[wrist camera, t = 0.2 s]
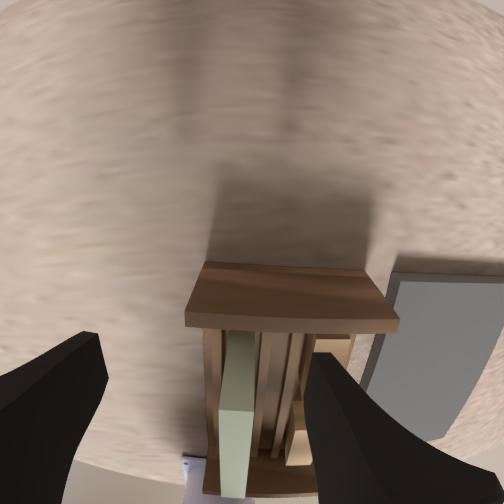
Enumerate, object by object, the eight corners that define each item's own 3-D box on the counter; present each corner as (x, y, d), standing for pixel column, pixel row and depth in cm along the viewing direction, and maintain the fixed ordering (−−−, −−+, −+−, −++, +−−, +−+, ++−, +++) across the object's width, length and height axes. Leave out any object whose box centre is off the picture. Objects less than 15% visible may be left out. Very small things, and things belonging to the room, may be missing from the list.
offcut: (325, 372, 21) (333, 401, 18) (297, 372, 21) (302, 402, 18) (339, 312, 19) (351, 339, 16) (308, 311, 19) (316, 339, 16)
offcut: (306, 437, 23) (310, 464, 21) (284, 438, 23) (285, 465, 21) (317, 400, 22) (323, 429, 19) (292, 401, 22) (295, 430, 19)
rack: (316, 444, 25) (324, 495, 20) (209, 441, 25) (202, 493, 20) (364, 270, 19) (400, 319, 14) (204, 261, 19) (184, 311, 14)
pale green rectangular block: (247, 427, 23) (244, 498, 16) (227, 426, 23) (221, 496, 16) (255, 329, 20) (253, 411, 13) (229, 328, 20) (218, 409, 13)
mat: (438, 428, 25) (443, 437, 24) (336, 443, 25) (339, 454, 24) (508, 276, 19) (518, 283, 18) (391, 271, 19) (400, 281, 18)
